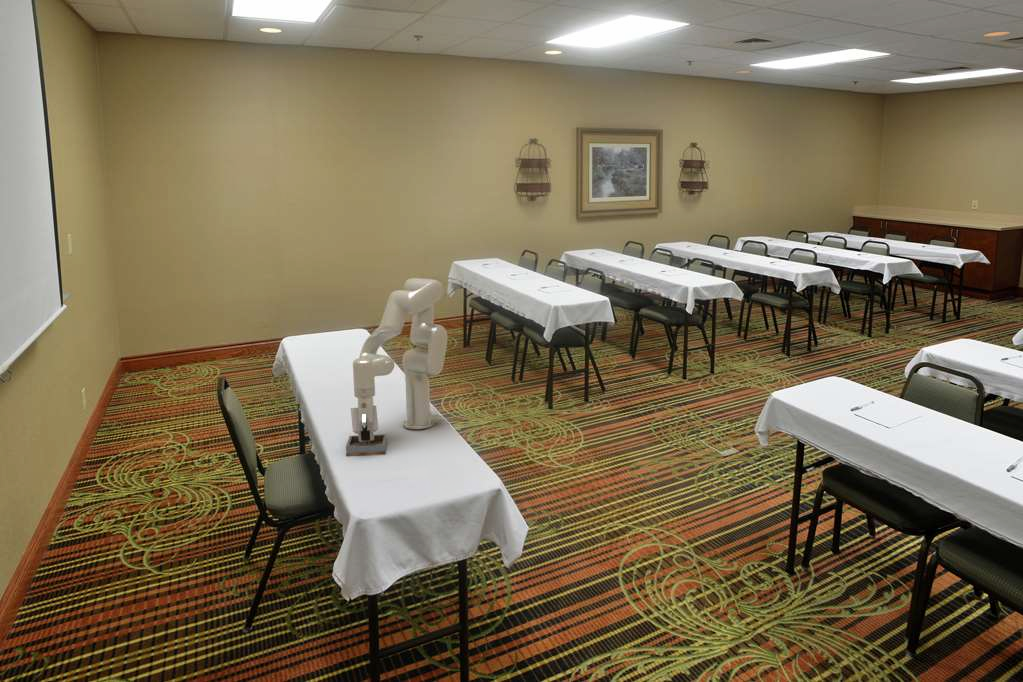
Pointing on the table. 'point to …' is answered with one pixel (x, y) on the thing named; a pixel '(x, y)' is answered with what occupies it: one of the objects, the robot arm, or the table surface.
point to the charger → (372, 426)
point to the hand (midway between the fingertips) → (366, 436)
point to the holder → (366, 446)
